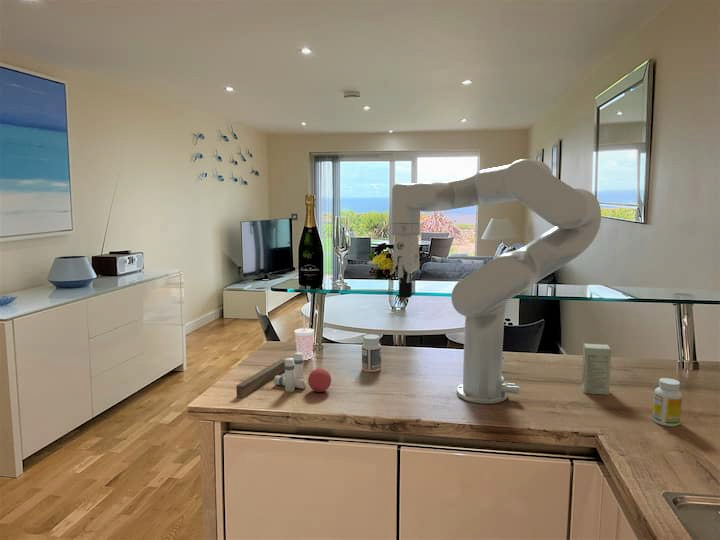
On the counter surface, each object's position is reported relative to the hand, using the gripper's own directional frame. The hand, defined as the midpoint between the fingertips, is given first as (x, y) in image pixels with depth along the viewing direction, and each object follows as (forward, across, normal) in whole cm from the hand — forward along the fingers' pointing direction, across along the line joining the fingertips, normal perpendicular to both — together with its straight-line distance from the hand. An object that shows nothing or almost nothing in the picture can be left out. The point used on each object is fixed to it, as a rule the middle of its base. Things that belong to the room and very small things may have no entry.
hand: (405, 296), depth 141 cm
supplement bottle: (+23, -6, -63) cm, 67 cm away
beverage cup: (+23, +5, +34) cm, 42 cm away
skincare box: (+23, +8, -49) cm, 55 cm away
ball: (+20, -18, +18) cm, 32 cm away
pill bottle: (+23, +3, +11) cm, 26 cm away
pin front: (+22, -17, +22) cm, 36 cm away
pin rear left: (+23, -20, +25) cm, 40 cm away
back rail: (+23, -17, +35) cm, 45 cm away
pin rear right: (+23, -15, +25) cm, 37 cm away
